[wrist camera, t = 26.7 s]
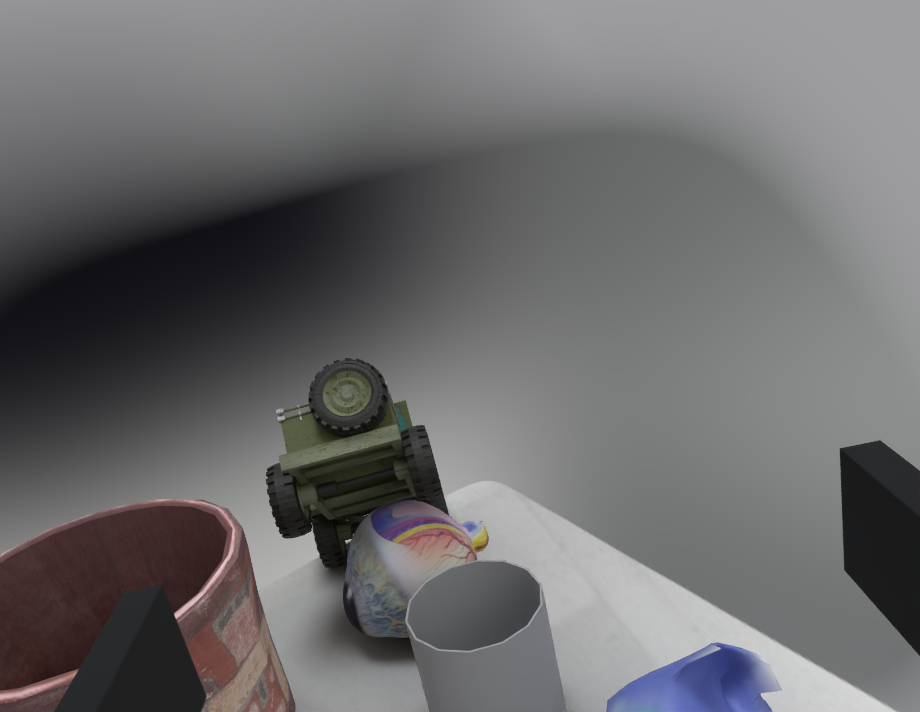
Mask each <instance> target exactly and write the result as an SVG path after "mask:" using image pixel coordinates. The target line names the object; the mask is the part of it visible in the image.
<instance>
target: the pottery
mask: <svg viewBox="0 0 920 712" xmlns="http://www.w3.org/2000/svg"><path fill="white" fill-rule="evenodd" d="M160 585H163V587H164V590H165V592H166V595H167V597H168V600H169V602H170V605H171V607H172V610H173V612H174V615H175V618H176V620H177V623H178V625H179V628H180V630H181V633H182V635H183V638H184V640H185V643H186V645H187V648H188V650H189V653H190V656H191V658H192V661H193V663H194V666H195V668H196V671H197V673H198V676H199V678H200V681H201V683H202V686H203V688H204V691H205V694H206V696H207V697H206V700H205V703H204V706H203V708H202V711H201V712H295V702H294V699H293V696H292V693H291V689H290V686H289V683H288V680H287V678H286V675H285V672H284V670H283V667H282V664H281V662H280V659H279V656H278V654H277V651H276V648H275V645H274V643H273V640H272V637H271V634H270V631H269V628H268V624H267V621H266V618H265V614H264V611H263V608H262V604H261V601H260V597H259V594H258V591H257V586H256V581H255V577H254V572H253V568H252V563H251V558H250V554H249V549H248V544H247V541H246V538H245V534H244V531H243V528H242V527H241V525H240V524H239V523H238V521H237V520H236V519H235V517H234V516H233V515H232V514H231V512H230V511H229V510H228V509H227V508H224V507H221V506H218V505H215V504H213V503H210V502H207V501H204V500H190V499H189V500H187V499H159V500H152V501H146V502H140V503H133V504H127V505H123V506H119V507H116V508H112V509H108V510H105V511H101V512H97V513H93V514H90V515H87V516H84V517H81V518H79V519H76V520H73V521H71V522H68V523H65V524H62V525H60V526H57V527H55V528H52V529H49V530H47V531H45V532H43V533H41V534H39V535H37V536H36V537H34V538H31V539H30V540H28V541H26V542H24V543H22V544H20V545H18V546H16V547H14V548H12V549H10V550H8V551H6V552H5V553H3V554H2V555H0V712H54V711H55V709H56V707H57V706H58V704H59V702H60V701H61V699H62V697H63V695H64V694H65V692H66V690H67V689H68V687H69V685H70V684H71V682H72V680H73V678H74V677H75V675H76V673H77V672H78V670H79V668H80V667H81V665H82V663H83V661H84V660H85V658H86V656H87V655H88V653H89V651H90V650H91V648H92V646H93V644H94V643H95V641H96V639H97V638H98V636H99V634H100V633H101V631H102V629H103V627H104V626H105V624H106V622H107V621H108V619H109V617H110V616H111V614H112V612H113V610H114V609H115V607H116V605H117V604H118V602H119V600H120V599H121V597H122V595H123V593H125V592H130V591H135V590H140V589H145V588H150V587H155V586H160Z"/></svg>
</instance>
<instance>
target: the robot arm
mask: <svg viewBox="0 0 920 712" xmlns="http://www.w3.org/2000/svg"><path fill="white" fill-rule="evenodd" d="M840 466H841V492H842V517H843V518H842V519H843V544H844V545H843V546H844V570H845V571H846V573H847V574H848V575H849V576H850V577H851V578H852V579H853V580H854V582H855V583H856V584H857V585H858V586H859V587H860V588H861V590H862V591H863V592H864V593H865V594H866V595H867V596H868V598H869V599H870V600H871V601H872V602H873V603H874V604H875V605H876V607H877V608H878V609H879V610H880V611H881V612H882V613H883V614H884V615H885V617H886V618H887V619H888V620H889V621H890V622H891V624H892V625H893V626H894V627H895V628H896V629H897V631H898V632H899V633H900V634H901V635H902V636H903V637H904V638H905V640H906V641H907V642H908V643H909V644H910V645H911V646H912V648H913V649H914V650H915V651H916V652H917V653H918V654H919V655H920V471H919V470H918V469H917V468H915V467H914V466H913V465H912V464H910V463H909V462H908V461H906V460H905V459H904V458H902V457H901V456H900V455H899V454H897V453H896V452H895V451H893V450H892V449H890V448H889V447H888V446H887V445H885V444H884V443H883V442H882V441H875V442H870V443H865V444H860V445H855V446H850V447H845V448H840ZM206 697H207V696H206V694H205V691H204V688H203V686H202V683H201V681H200V678H199V676H198V673H197V671H196V668H195V666H194V663H193V661H192V658H191V656H190V653H189V650H188V648H187V645H186V643H185V640H184V638H183V635H182V633H181V630H180V628H179V625H178V623H177V620H176V618H175V615H174V612H173V610H172V607H171V605H170V602H169V600H168V597H167V595H166V592H165V590H164V587H163V585H160V586H155V587H150V588H145V589H140V590H135V591H130V592H125V593H123V595H122V597H121V599H120V600H119V602H118V604H117V605H116V607H115V609H114V610H113V612H112V614H111V616H110V617H109V619H108V621H107V622H106V624H105V626H104V627H103V629H102V631H101V633H100V634H99V636H98V638H97V639H96V641H95V643H94V644H93V646H92V648H91V650H90V651H89V653H88V655H87V656H86V658H85V660H84V661H83V663H82V665H81V667H80V668H79V670H78V672H77V673H76V675H75V677H74V678H73V680H72V682H71V684H70V685H69V687H68V689H67V690H66V692H65V694H64V695H63V697H62V699H61V701H60V702H59V704H58V706H57V707H56V709H55V711H54V712H201V711H202V708H203V706H204V703H205V700H206Z"/></svg>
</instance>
